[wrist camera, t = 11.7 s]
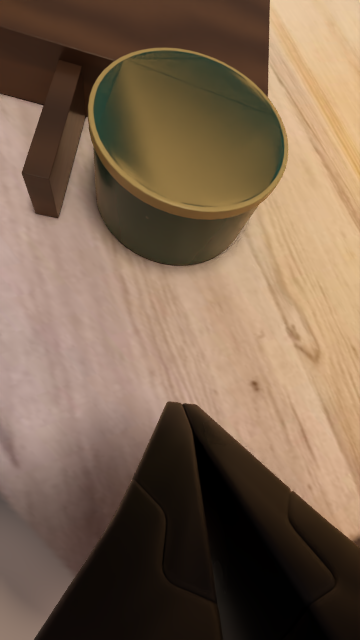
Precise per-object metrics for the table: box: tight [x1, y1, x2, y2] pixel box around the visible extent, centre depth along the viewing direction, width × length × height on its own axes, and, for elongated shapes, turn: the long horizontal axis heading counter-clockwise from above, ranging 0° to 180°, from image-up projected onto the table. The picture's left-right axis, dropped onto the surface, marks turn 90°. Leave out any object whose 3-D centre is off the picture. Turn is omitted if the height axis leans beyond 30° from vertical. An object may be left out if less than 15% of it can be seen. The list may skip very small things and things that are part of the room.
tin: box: [88, 48, 288, 265], centre depth 22 cm, size 12×12×7 cm
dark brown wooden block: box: [0, 0, 270, 218], centre depth 26 cm, size 30×24×5 cm
